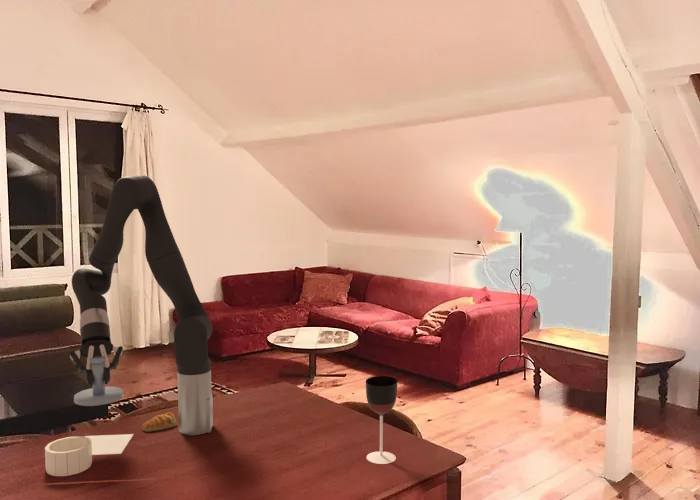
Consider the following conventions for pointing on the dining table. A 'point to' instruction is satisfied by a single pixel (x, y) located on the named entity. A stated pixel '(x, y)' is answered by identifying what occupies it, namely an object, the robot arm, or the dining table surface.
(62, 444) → the cup
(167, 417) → the pastry
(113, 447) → the mat
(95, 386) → the lid
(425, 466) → the dining table surface
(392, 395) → the wineglass
